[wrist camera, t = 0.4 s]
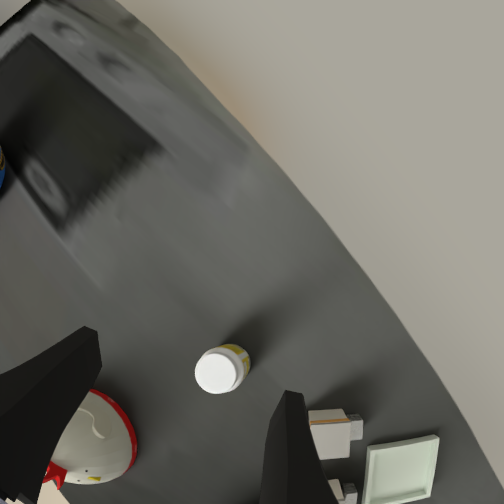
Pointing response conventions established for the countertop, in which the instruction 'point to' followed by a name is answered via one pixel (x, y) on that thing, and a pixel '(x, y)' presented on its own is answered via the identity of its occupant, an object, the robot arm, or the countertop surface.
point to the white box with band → (330, 433)
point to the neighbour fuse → (337, 490)
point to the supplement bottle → (222, 368)
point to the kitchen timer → (94, 444)
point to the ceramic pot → (2, 166)
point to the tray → (400, 470)
